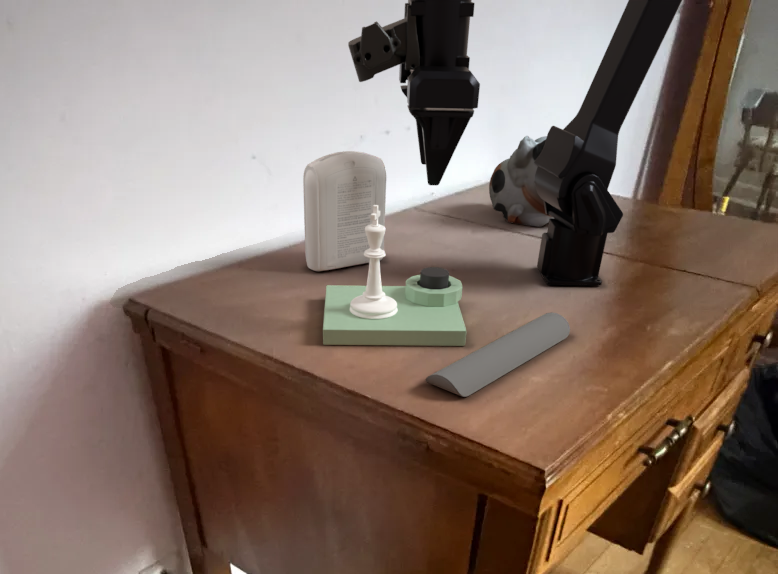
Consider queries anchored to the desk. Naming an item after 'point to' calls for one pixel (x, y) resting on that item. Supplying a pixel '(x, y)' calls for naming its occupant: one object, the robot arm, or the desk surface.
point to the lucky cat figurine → (519, 186)
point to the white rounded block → (341, 208)
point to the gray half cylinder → (501, 355)
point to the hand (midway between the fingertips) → (429, 174)
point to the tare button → (434, 278)
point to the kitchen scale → (397, 316)
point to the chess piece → (374, 277)
